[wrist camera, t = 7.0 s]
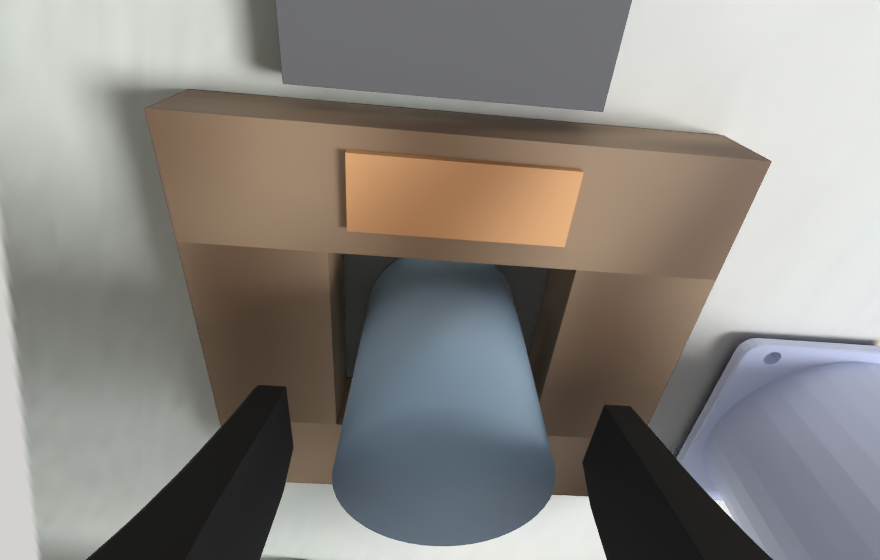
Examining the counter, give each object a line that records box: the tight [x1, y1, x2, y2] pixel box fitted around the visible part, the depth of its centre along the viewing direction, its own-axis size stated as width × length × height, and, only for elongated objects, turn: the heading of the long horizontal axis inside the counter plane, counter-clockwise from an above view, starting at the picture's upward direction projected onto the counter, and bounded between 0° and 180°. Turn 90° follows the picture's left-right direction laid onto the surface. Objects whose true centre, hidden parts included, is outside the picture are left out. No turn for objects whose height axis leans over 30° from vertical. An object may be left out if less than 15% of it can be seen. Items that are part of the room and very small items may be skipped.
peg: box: [332, 258, 556, 546], centre depth 12 cm, size 4×4×6 cm
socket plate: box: [144, 89, 772, 496], centre depth 14 cm, size 13×12×2 cm
